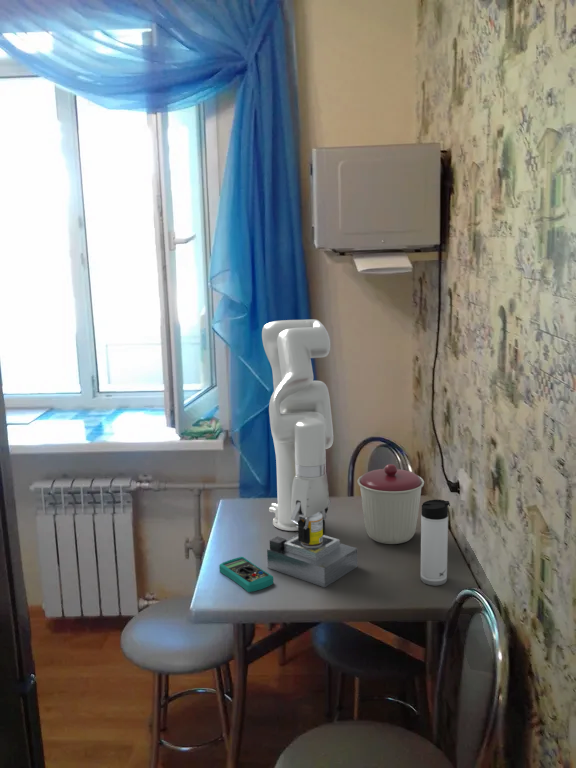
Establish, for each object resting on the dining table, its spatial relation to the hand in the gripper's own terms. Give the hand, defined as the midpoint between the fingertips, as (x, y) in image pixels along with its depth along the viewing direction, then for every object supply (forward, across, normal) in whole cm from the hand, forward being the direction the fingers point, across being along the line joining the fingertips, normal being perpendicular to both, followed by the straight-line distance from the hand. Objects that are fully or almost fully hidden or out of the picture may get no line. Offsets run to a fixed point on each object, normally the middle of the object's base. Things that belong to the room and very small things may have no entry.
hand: (311, 537), depth 179 cm
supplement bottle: (+2, 0, 0) cm, 2 cm away
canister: (+8, -28, +6) cm, 30 cm away
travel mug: (+8, -12, +28) cm, 32 cm away
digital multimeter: (+9, +14, -10) cm, 19 cm away
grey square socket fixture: (+8, 0, 0) cm, 8 cm away
